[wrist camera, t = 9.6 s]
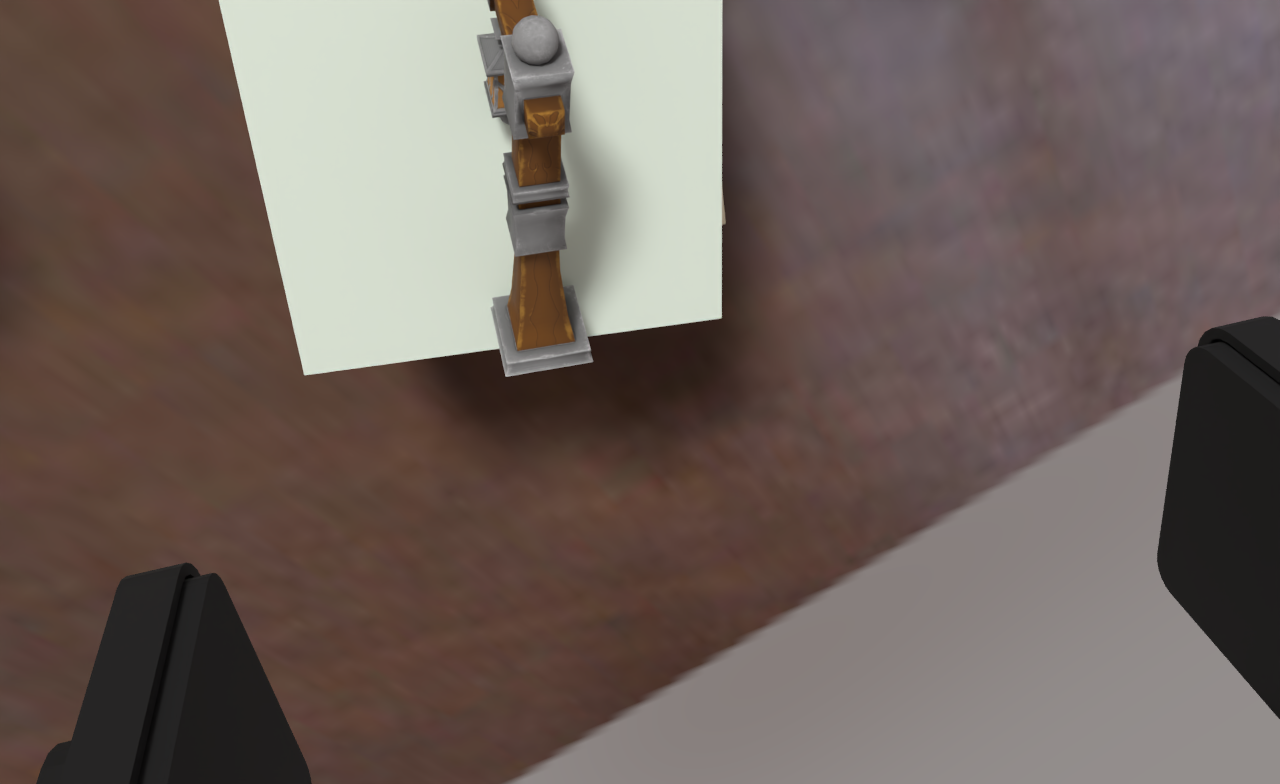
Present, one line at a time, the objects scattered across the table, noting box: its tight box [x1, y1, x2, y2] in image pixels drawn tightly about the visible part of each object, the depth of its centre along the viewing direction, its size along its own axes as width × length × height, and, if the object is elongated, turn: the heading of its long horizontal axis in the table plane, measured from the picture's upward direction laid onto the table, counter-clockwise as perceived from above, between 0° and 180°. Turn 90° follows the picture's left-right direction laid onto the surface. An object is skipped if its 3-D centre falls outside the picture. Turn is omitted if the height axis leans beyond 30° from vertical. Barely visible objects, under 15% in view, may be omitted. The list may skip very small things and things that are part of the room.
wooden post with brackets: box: [477, 0, 593, 377], centre depth 21 cm, size 2×8×4 cm, turn 2°
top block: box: [219, 0, 722, 375], centre depth 24 cm, size 9×9×5 cm
